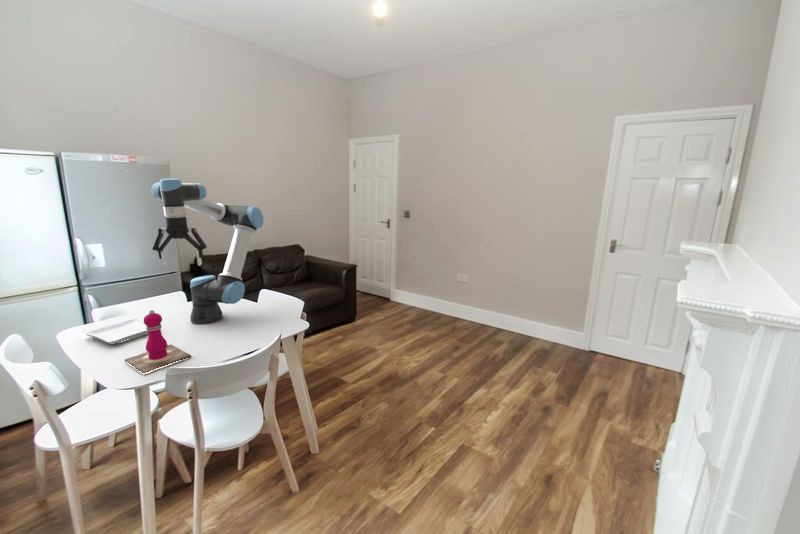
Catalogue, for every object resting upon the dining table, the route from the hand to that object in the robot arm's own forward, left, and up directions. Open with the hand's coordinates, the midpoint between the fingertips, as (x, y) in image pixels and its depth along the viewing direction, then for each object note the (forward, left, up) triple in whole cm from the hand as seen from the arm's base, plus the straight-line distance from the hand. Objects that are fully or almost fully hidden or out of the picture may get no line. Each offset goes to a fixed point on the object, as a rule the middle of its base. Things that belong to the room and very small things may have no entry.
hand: (182, 265), depth 151 cm
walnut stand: (+7, -17, -36) cm, 40 cm away
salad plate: (-32, -15, -36) cm, 50 cm away
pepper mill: (+7, -17, -34) cm, 39 cm away
